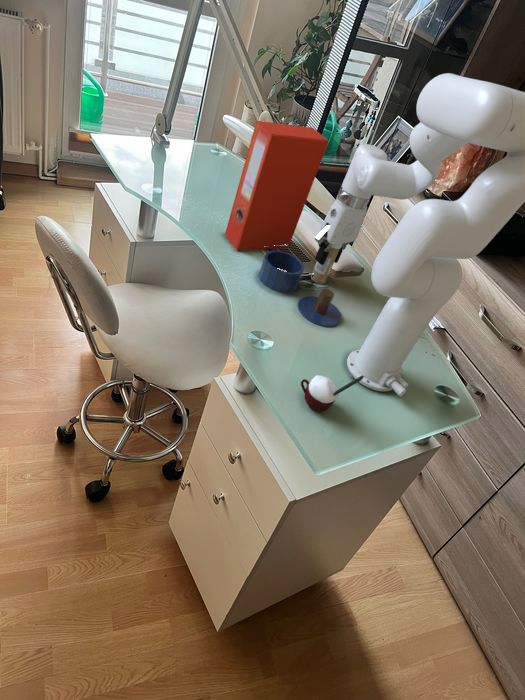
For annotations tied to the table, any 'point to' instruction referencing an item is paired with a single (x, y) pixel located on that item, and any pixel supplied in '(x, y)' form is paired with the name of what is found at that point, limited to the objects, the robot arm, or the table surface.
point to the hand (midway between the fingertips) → (326, 260)
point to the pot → (278, 278)
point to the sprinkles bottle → (326, 264)
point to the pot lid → (320, 309)
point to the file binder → (274, 185)
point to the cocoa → (323, 391)
